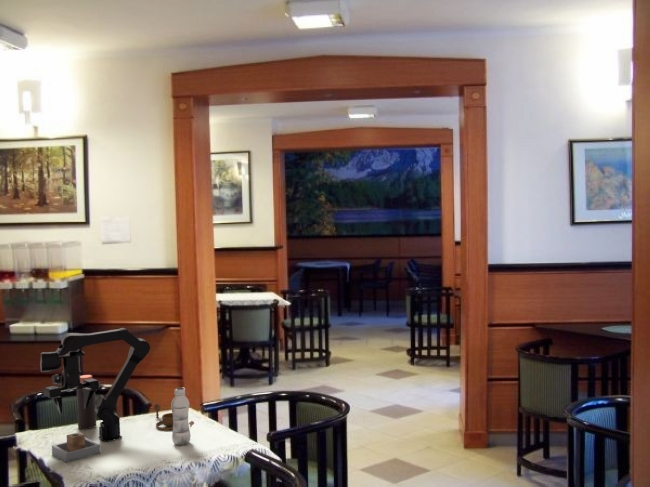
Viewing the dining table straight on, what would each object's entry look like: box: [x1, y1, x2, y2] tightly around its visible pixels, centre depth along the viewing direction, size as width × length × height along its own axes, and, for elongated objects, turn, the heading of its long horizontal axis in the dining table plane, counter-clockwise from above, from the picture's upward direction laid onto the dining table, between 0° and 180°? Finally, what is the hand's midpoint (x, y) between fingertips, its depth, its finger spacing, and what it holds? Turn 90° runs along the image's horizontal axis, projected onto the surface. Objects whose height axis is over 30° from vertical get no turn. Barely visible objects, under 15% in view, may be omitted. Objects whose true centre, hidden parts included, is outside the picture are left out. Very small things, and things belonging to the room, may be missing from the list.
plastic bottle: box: [170, 387, 192, 446], centre depth 246 cm, size 6×7×20 cm
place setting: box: [153, 403, 195, 432], centre depth 272 cm, size 18×20×6 cm
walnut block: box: [66, 431, 86, 452], centre depth 238 cm, size 4×4×6 cm
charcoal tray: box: [51, 436, 101, 464], centre depth 238 cm, size 12×12×3 cm
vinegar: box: [76, 374, 97, 430], centre depth 269 cm, size 7×7×20 cm
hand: (73, 411), depth 248 cm, fingers open, 9 cm apart
